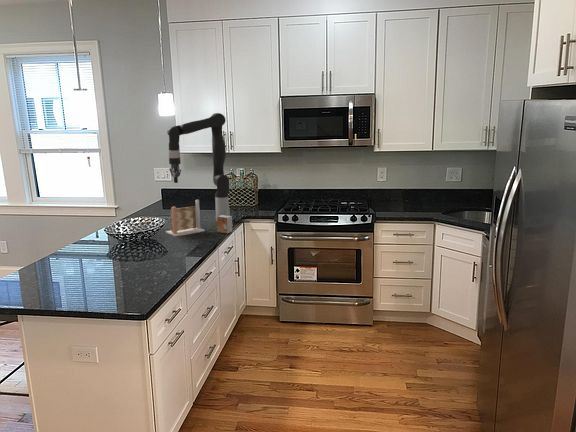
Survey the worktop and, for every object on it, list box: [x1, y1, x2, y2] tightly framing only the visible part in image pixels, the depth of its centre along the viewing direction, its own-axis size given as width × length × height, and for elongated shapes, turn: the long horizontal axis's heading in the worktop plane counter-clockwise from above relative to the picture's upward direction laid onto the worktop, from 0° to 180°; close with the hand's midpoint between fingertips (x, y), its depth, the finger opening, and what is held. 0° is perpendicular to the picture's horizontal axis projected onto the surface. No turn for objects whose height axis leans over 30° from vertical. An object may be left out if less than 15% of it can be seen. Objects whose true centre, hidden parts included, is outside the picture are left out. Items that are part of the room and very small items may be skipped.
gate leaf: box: [169, 205, 197, 232], centre depth 289 cm, size 17×1×15 cm, turn 132°
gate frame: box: [165, 199, 206, 237], centre depth 291 cm, size 21×13×20 cm, turn 132°
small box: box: [216, 215, 233, 234], centre depth 292 cm, size 8×6×10 cm
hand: (175, 182), depth 308 cm, fingers closed
